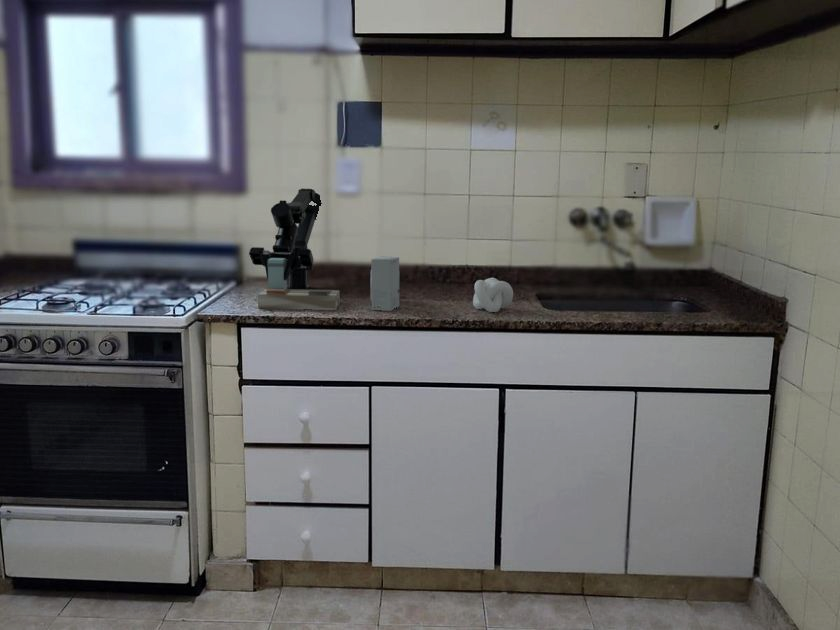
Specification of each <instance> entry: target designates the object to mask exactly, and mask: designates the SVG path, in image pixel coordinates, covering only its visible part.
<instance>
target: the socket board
mask: <svg viewBox="0 0 840 630" xmlns="http://www.w3.org/2000/svg"><path fill="white" fill-rule="evenodd" d="M340 294H341V293H340V290H339V289H269V288H264V289H263V290H262V291H261V292H259V293H258V294H257V309H258V308H259V309H261V308H262V309H264V310H265V309H266V310H303V309H312V310H311V311H314V310H315V311H316V310H317V311H336V309H338V307H339V306H340V303H341V300H340V299H341V298H340V297H341V295H340Z"/></svg>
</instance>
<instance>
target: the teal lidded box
mask: <svg viewBox="0 0 840 630" xmlns="http://www.w3.org/2000/svg"><path fill="white" fill-rule="evenodd" d="M267 267H268V279H267V282H268V285H267V286H268V289H287V287H288V284H287V279H286V280H284V272H285V267H286V258H270V259H268V263H267Z"/></svg>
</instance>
